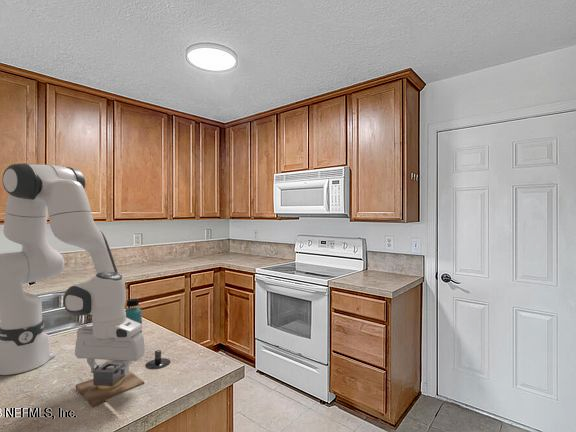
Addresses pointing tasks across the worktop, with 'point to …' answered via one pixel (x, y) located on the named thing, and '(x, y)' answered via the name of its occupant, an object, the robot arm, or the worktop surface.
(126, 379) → the brown square board
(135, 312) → the beverage bottle
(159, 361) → the stand
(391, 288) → the worktop surface
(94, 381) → the square metal tube
